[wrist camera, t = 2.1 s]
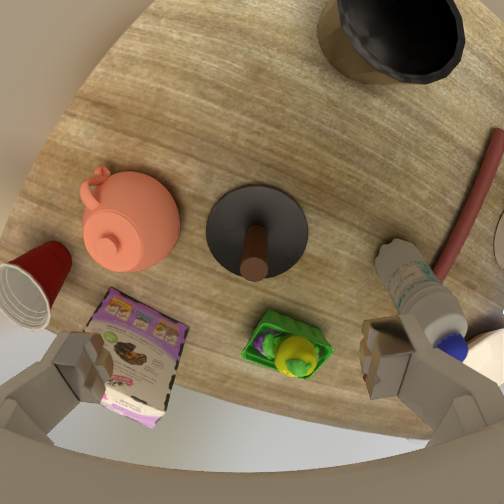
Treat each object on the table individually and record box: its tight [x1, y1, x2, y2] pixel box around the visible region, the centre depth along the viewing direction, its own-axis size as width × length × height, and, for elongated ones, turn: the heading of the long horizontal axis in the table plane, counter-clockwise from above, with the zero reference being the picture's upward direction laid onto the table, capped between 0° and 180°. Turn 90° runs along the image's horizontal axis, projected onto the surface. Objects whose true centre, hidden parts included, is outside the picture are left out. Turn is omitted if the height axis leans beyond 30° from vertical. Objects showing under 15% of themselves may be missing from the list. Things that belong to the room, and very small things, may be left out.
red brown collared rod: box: [363, 128, 504, 382], centre depth 40 cm, size 45×3×3 cm, turn 164°
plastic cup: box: [0, 241, 72, 331], centre depth 38 cm, size 11×11×12 cm
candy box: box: [82, 288, 189, 428], centre depth 41 cm, size 14×6×16 cm, turn 59°
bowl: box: [462, 328, 504, 386], centre depth 48 cm, size 22×22×5 cm
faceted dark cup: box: [317, 0, 465, 85], centre depth 23 cm, size 12×12×12 cm
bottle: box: [375, 238, 468, 362], centre depth 32 cm, size 7×7×20 cm
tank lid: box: [206, 185, 308, 282], centre depth 36 cm, size 12×12×9 cm
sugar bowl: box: [79, 166, 180, 272], centre depth 35 cm, size 12×14×10 cm
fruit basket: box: [241, 309, 334, 379], centre depth 42 cm, size 11×9×11 cm
